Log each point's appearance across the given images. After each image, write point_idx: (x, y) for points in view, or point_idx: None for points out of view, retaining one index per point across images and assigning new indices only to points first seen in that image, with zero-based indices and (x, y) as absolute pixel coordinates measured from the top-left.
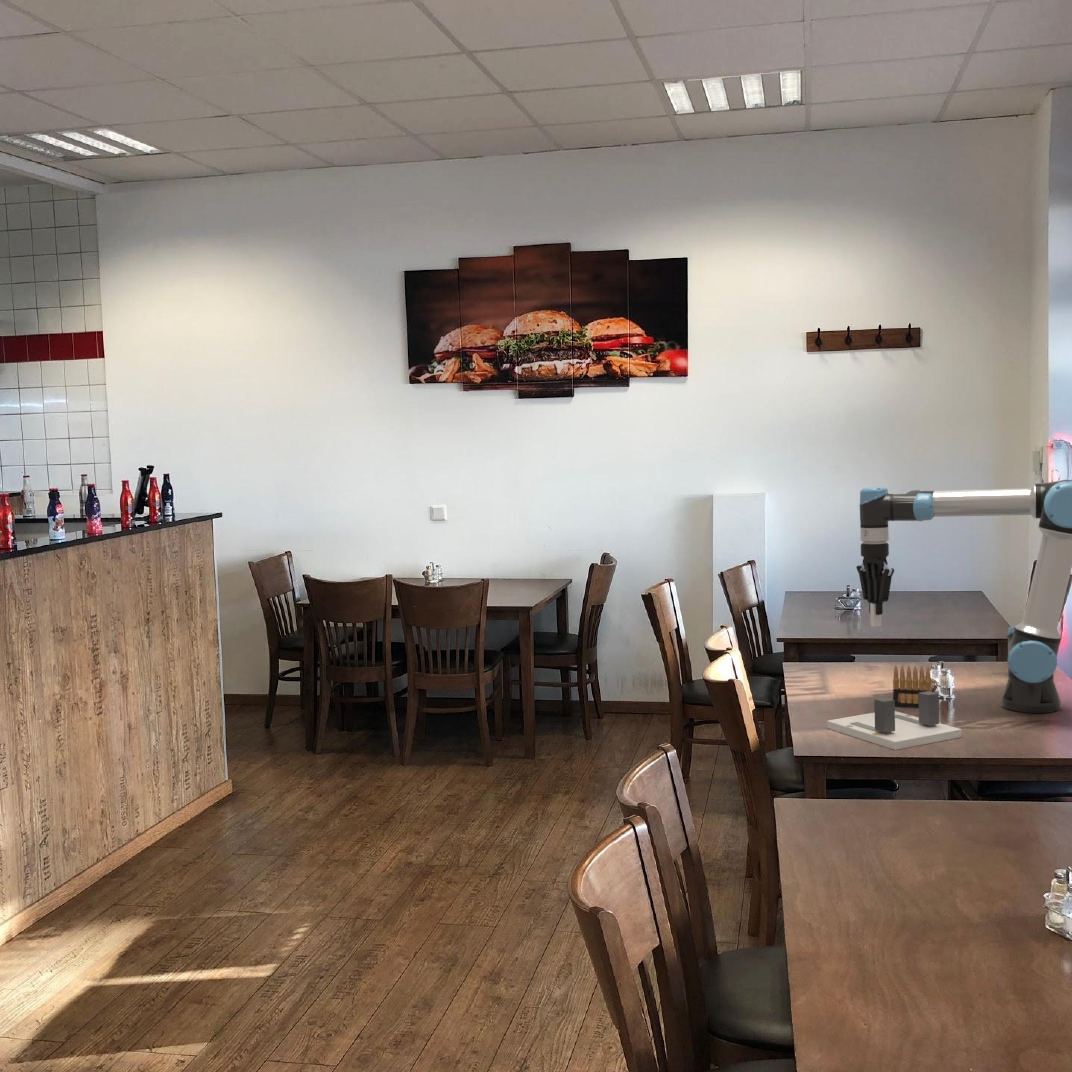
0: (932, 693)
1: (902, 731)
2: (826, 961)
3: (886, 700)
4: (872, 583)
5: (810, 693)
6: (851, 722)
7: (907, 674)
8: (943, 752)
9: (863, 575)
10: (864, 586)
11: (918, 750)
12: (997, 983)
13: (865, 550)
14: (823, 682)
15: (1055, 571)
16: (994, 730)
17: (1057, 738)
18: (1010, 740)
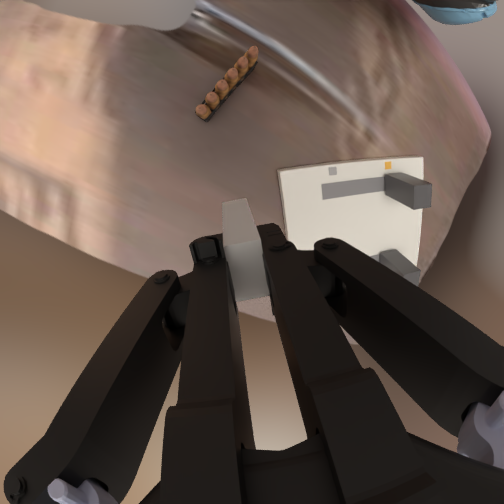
0: (427, 192)
1: (393, 234)
2: None
3: (415, 281)
4: (243, 391)
5: (67, 216)
6: None
7: (223, 89)
8: (441, 221)
9: (131, 465)
10: (166, 387)
11: (425, 240)
12: None
13: None
14: (11, 164)
15: None
16: (409, 92)
17: (454, 69)
18: (445, 117)
